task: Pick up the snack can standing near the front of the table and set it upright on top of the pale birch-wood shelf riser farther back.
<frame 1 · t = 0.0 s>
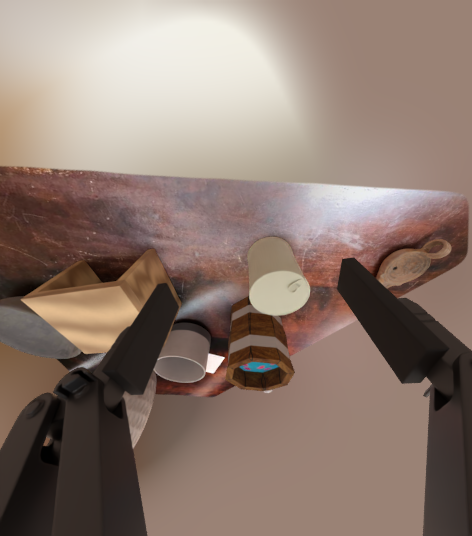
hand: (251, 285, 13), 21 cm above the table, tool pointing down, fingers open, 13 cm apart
can: (269, 256, 36), on the table
oil lamp: (394, 259, 35), on the table
white paper sheet: (202, 361, 60), on the table
shelf: (134, 283, 41), on the table
vase: (147, 367, 64), on the table
mug: (256, 321, 47), on the table
bowl: (60, 311, 48), on the table
planter: (190, 332, 51), on the table
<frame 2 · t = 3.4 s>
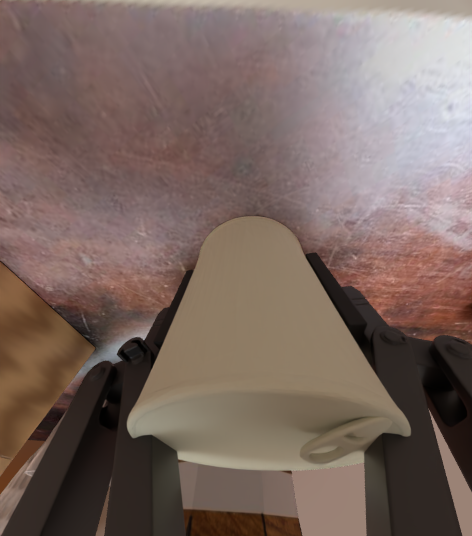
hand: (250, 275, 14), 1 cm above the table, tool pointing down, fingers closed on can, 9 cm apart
can: (249, 265, 16), on the table, touching gripper
vase: (84, 422, 44), on the table
mug: (236, 374, 27), on the table
planter: (129, 386, 31), on the table
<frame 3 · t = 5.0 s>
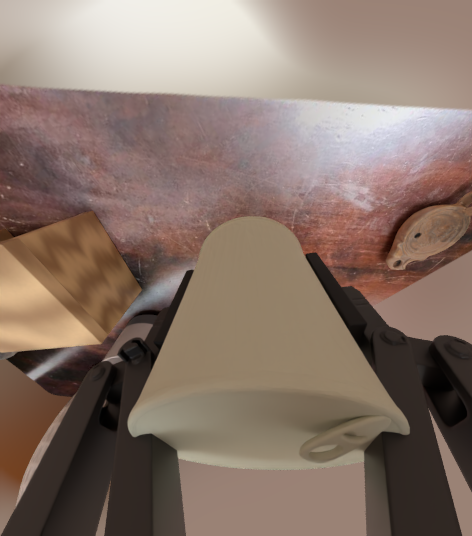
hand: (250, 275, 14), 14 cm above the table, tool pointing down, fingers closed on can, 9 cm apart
can: (249, 265, 16), point 13 cm above the table, touching gripper
oil lamp: (415, 226, 26), on the table
shelf: (77, 262, 32), on the table
vase: (115, 371, 54), on the table
planter: (158, 327, 42), on the table
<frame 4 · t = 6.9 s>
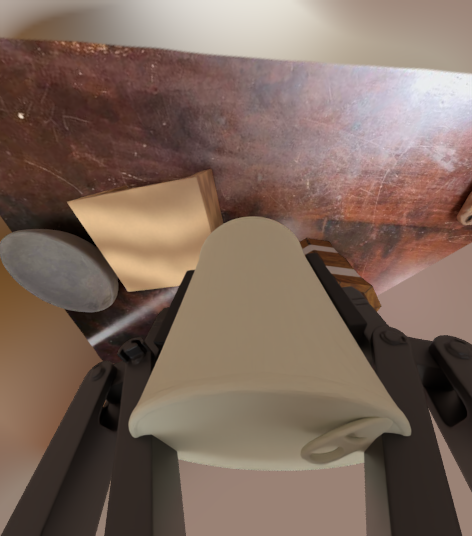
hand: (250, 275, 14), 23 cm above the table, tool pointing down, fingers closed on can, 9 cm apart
can: (250, 265, 16), point 22 cm above the table, touching gripper
shelf: (179, 220, 36), on the table
mug: (307, 273, 43), on the table
bowl: (88, 260, 43), on the table
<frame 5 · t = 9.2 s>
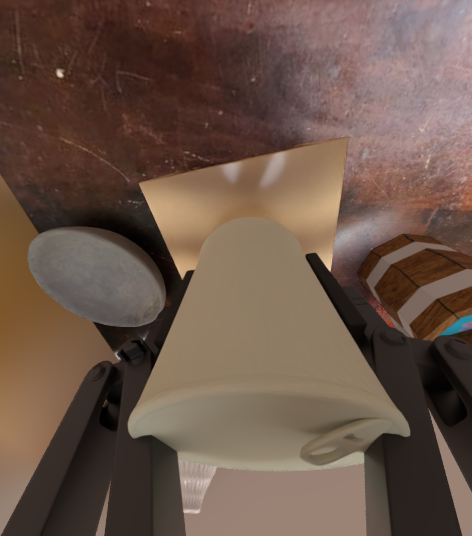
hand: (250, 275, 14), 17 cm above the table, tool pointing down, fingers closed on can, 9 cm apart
can: (250, 265, 16), point 16 cm above the table, touching gripper
shelf: (246, 213, 29), on the table
vase: (213, 348, 52), on the table
mug: (391, 277, 35), on the table
bowl: (126, 264, 36), on the table
when the fingers open (13 cm above the table, at t = 10.8 s): can stays where it is, resting on shelf.
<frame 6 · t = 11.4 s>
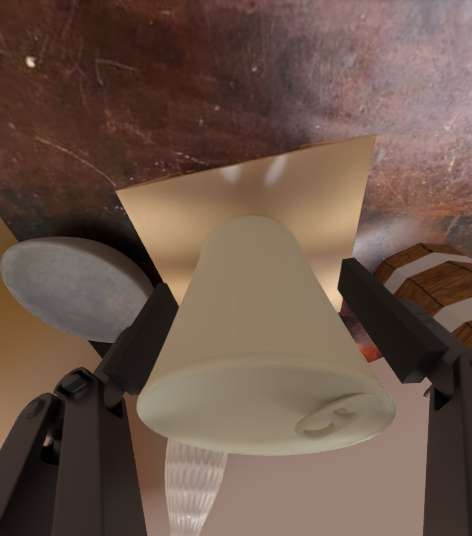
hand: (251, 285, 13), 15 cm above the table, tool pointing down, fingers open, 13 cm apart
can: (249, 262, 16), point 12 cm above the table, touching shelf
shelf: (247, 221, 26), on the table
vase: (211, 360, 49), on the table
mug: (404, 288, 32), on the table
bowl: (116, 274, 33), on the table
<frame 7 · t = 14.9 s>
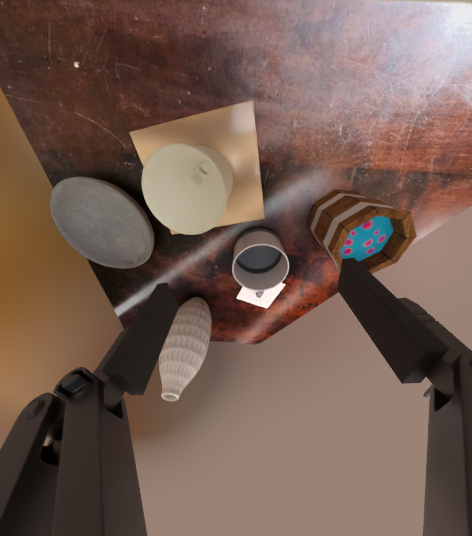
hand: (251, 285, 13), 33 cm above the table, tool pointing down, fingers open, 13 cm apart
can: (204, 180, 28), point 12 cm above the table, touching shelf
white paper sheet: (259, 291, 57), on the table
shelf: (214, 172, 38), on the table
vase: (198, 302, 61), on the table
mug: (333, 229, 44), on the table
bowl: (123, 219, 45), on the table
planter: (257, 247, 48), on the table
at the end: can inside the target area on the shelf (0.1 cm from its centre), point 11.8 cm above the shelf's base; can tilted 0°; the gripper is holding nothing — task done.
